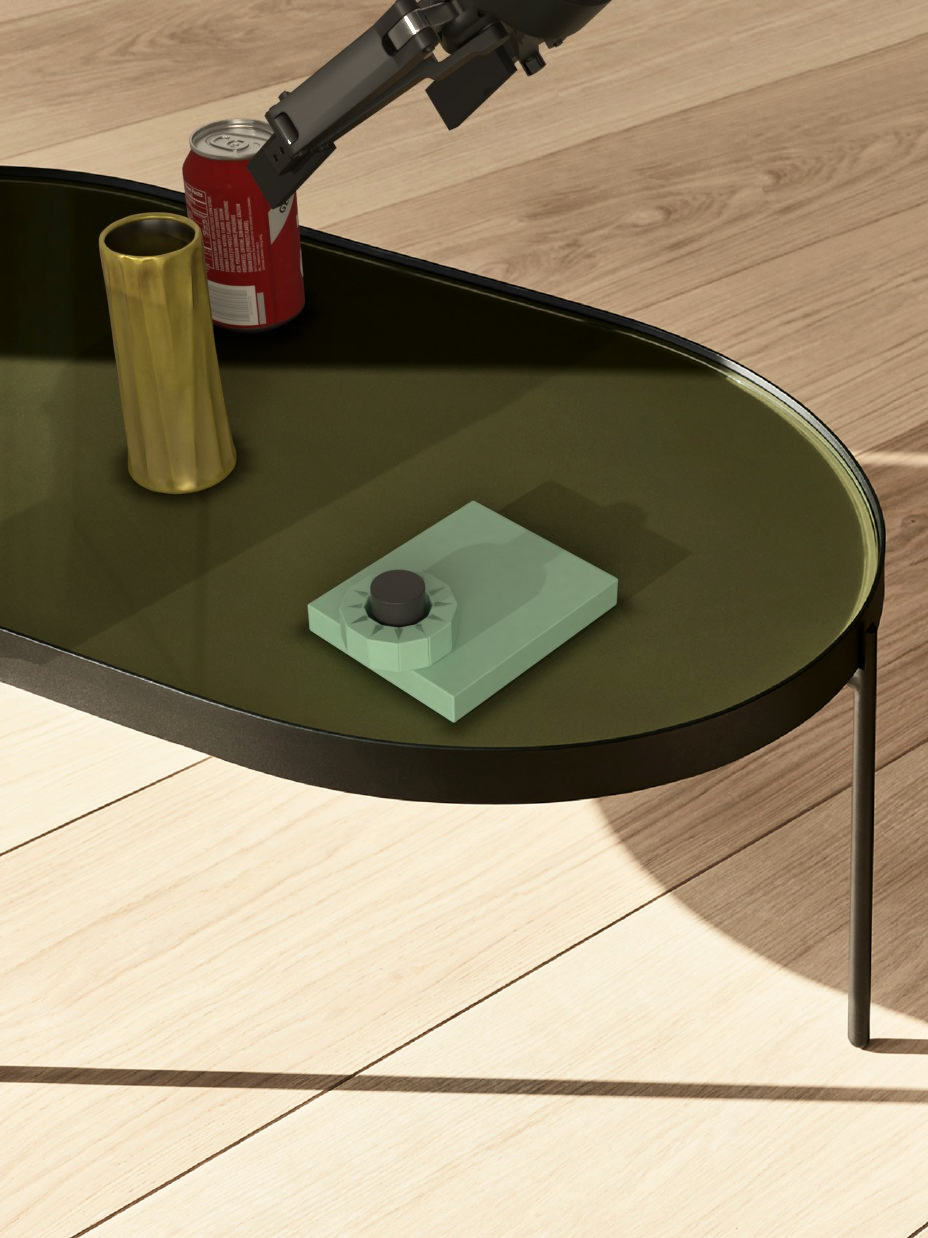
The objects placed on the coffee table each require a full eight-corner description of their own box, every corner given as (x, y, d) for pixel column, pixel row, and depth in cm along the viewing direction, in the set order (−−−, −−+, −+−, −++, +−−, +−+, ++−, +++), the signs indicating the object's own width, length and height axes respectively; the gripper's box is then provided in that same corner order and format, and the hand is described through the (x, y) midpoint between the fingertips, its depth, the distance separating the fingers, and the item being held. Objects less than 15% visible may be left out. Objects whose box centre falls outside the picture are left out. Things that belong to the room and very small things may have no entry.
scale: (435, 737, 78) (433, 681, 75) (290, 642, 83) (284, 587, 81) (617, 604, 85) (620, 549, 83) (473, 525, 90) (472, 471, 88)
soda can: (262, 351, 105) (244, 170, 97) (178, 322, 107) (155, 144, 100) (326, 305, 109) (314, 128, 101) (244, 279, 112) (226, 105, 104)
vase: (231, 495, 93) (202, 261, 84) (120, 497, 93) (79, 263, 84) (242, 434, 97) (215, 206, 88) (136, 435, 97) (99, 207, 88)
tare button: (398, 636, 79) (397, 610, 78) (360, 612, 80) (358, 586, 79) (437, 610, 80) (436, 584, 79) (398, 587, 81) (397, 561, 80)
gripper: (419, 76, 69) (219, 284, 87) (774, -72, 83) (540, 134, 100) (322, -86, 68) (142, 157, 86) (696, -207, 82) (474, 24, 100)
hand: (356, 145), depth 93 cm, fingers open, 13 cm apart
